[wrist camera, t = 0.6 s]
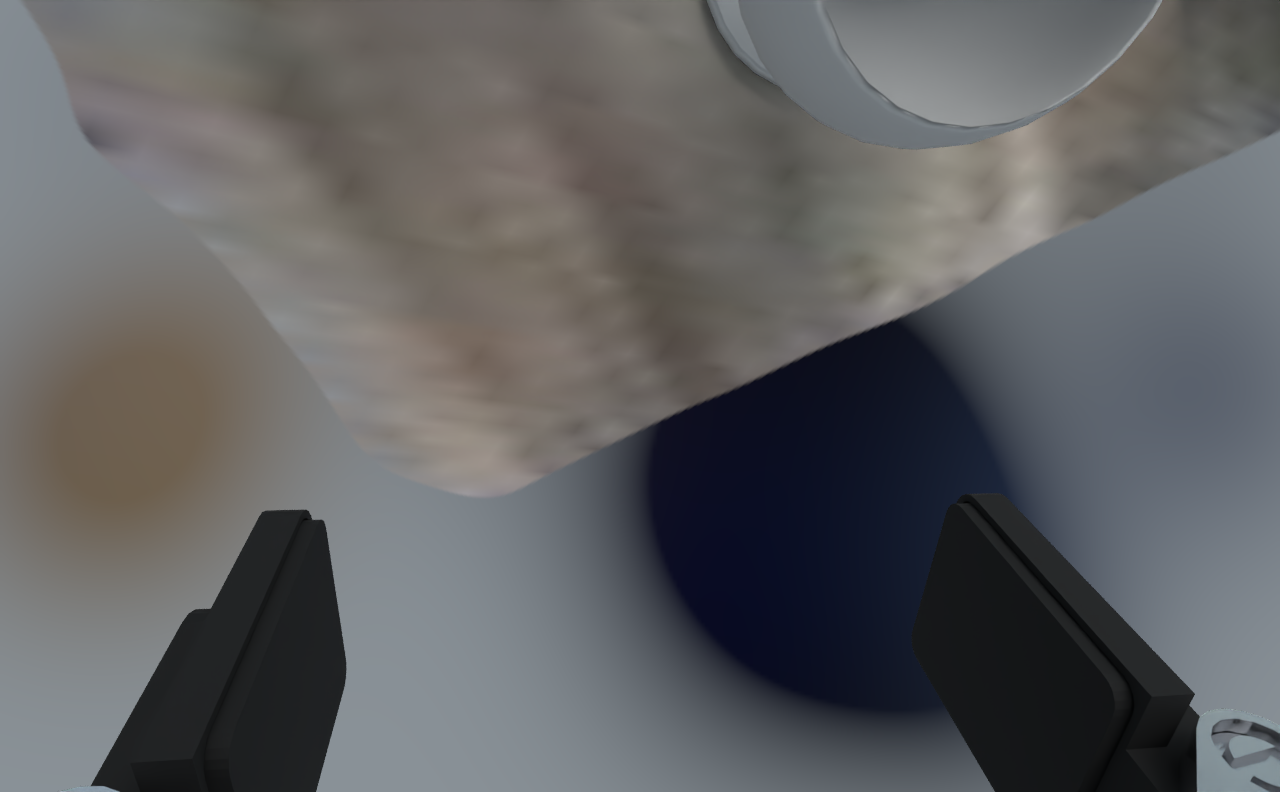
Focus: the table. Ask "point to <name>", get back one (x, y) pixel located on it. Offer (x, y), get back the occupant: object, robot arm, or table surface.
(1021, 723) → the robot arm
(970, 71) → the chalice
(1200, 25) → the table surface
